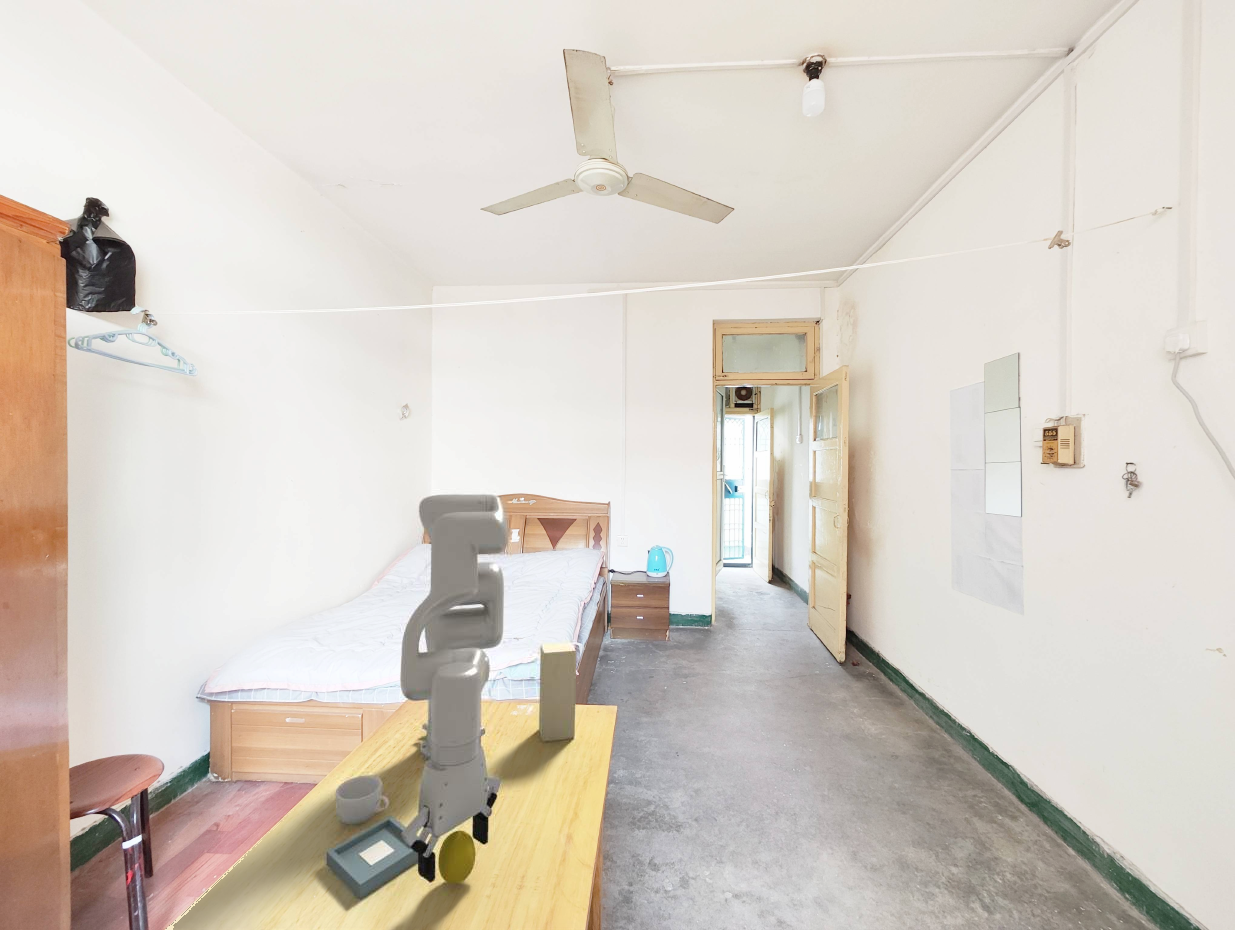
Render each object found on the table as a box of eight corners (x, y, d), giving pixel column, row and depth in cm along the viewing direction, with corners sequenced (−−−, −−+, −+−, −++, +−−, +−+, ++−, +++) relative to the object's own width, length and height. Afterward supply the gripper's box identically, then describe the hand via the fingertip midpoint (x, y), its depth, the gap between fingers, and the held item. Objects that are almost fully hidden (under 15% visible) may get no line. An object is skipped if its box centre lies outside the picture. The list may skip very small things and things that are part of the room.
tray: (326, 864, 84) (326, 851, 84) (390, 827, 93) (390, 815, 93) (360, 899, 77) (360, 884, 77) (425, 855, 86) (426, 842, 86)
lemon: (443, 870, 83) (443, 820, 83) (478, 868, 84) (478, 818, 84) (433, 898, 78) (434, 845, 78) (471, 896, 78) (471, 843, 78)
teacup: (324, 827, 93) (325, 797, 93) (355, 800, 100) (355, 772, 100) (373, 836, 91) (373, 805, 91) (400, 808, 98) (401, 779, 98)
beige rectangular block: (570, 723, 131) (570, 640, 131) (575, 738, 124) (576, 650, 124) (538, 727, 129) (539, 643, 129) (542, 742, 122) (543, 653, 122)
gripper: (485, 719, 90) (484, 818, 89) (390, 763, 76) (388, 881, 76) (514, 732, 85) (513, 837, 85) (419, 781, 72) (418, 907, 71)
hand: (454, 858), depth 80 cm, fingers open, 9 cm apart
